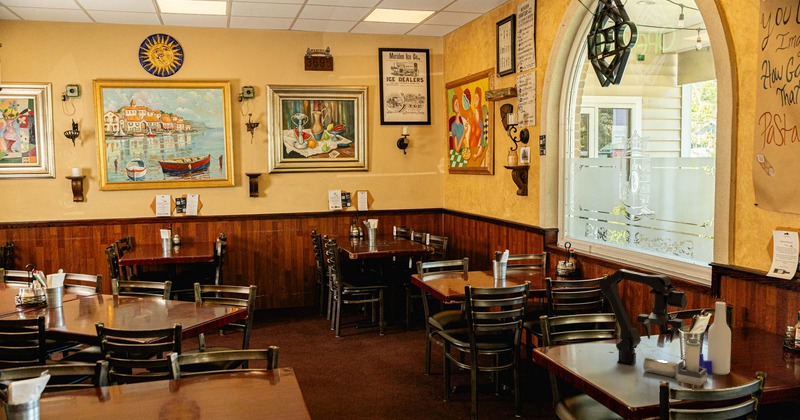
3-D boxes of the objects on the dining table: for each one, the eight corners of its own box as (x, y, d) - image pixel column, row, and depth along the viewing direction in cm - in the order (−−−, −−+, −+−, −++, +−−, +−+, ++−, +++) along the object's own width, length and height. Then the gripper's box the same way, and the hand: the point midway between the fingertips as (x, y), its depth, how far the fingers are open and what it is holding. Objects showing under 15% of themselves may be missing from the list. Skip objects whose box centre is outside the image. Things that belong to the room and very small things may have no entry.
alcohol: (728, 376, 277) (730, 305, 275) (705, 372, 282) (707, 303, 280) (731, 370, 285) (733, 301, 283) (708, 367, 290) (710, 299, 287)
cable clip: (691, 366, 292) (691, 352, 291) (701, 366, 291) (702, 353, 291) (700, 375, 280) (700, 361, 279) (711, 375, 279) (711, 361, 279)
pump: (685, 374, 270) (686, 339, 269) (685, 370, 275) (685, 336, 274) (699, 376, 269) (700, 340, 268) (698, 372, 274) (699, 337, 272)
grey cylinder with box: (641, 373, 281) (642, 357, 280) (649, 368, 288) (649, 352, 287) (700, 385, 266) (701, 368, 265) (706, 380, 273) (707, 363, 272)
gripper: (632, 305, 283) (631, 341, 284) (677, 311, 271) (676, 348, 272) (641, 300, 292) (640, 335, 293) (685, 306, 280) (684, 342, 281)
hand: (659, 340), depth 285 cm, fingers open, 9 cm apart
